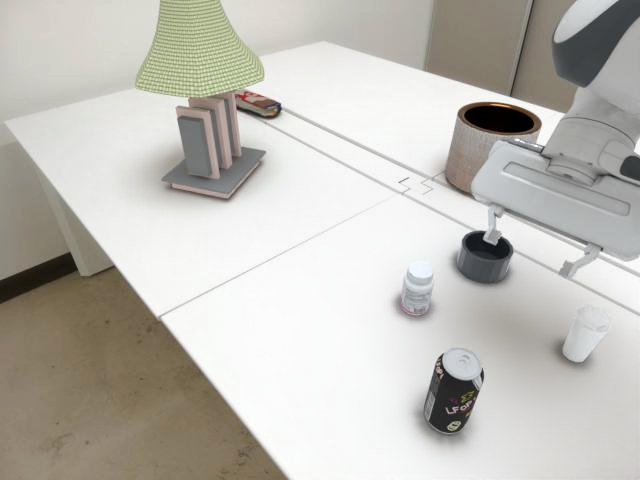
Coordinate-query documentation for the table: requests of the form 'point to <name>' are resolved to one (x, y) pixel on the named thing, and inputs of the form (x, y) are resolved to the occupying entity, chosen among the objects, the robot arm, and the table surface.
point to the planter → (485, 137)
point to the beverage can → (453, 390)
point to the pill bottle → (417, 288)
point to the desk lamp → (203, 92)
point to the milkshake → (586, 332)
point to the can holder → (484, 257)
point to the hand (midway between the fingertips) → (525, 259)
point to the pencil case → (257, 103)
